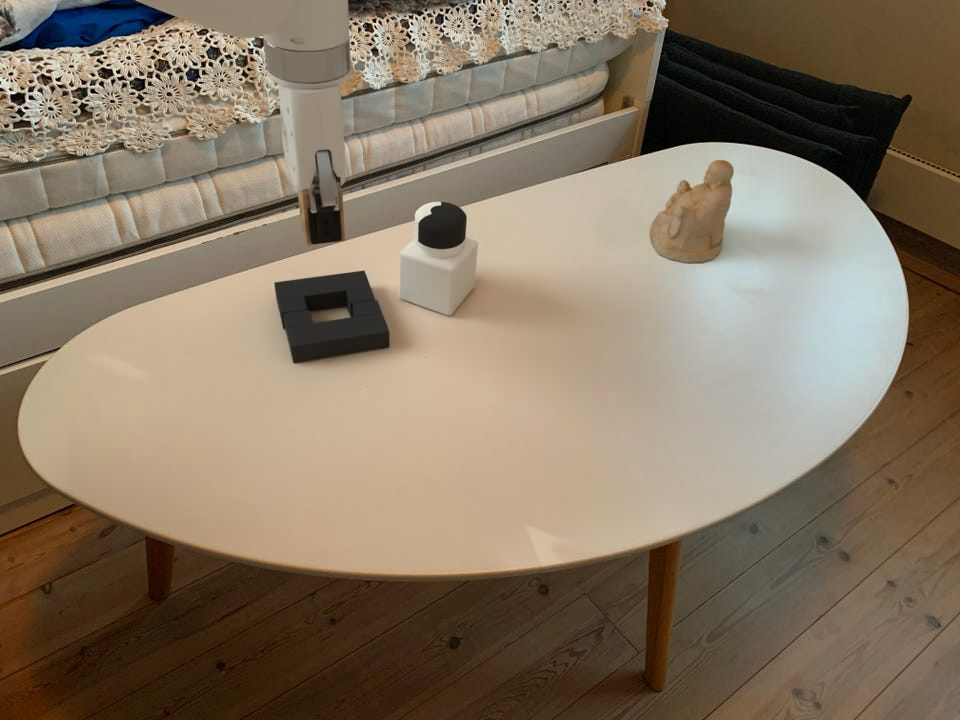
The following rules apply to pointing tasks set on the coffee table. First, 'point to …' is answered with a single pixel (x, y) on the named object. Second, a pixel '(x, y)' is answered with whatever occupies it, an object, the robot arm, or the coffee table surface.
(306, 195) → the key
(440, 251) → the medicine bottle
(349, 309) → the pad back
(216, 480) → the coffee table surface
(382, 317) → the pad front
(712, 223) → the statue
